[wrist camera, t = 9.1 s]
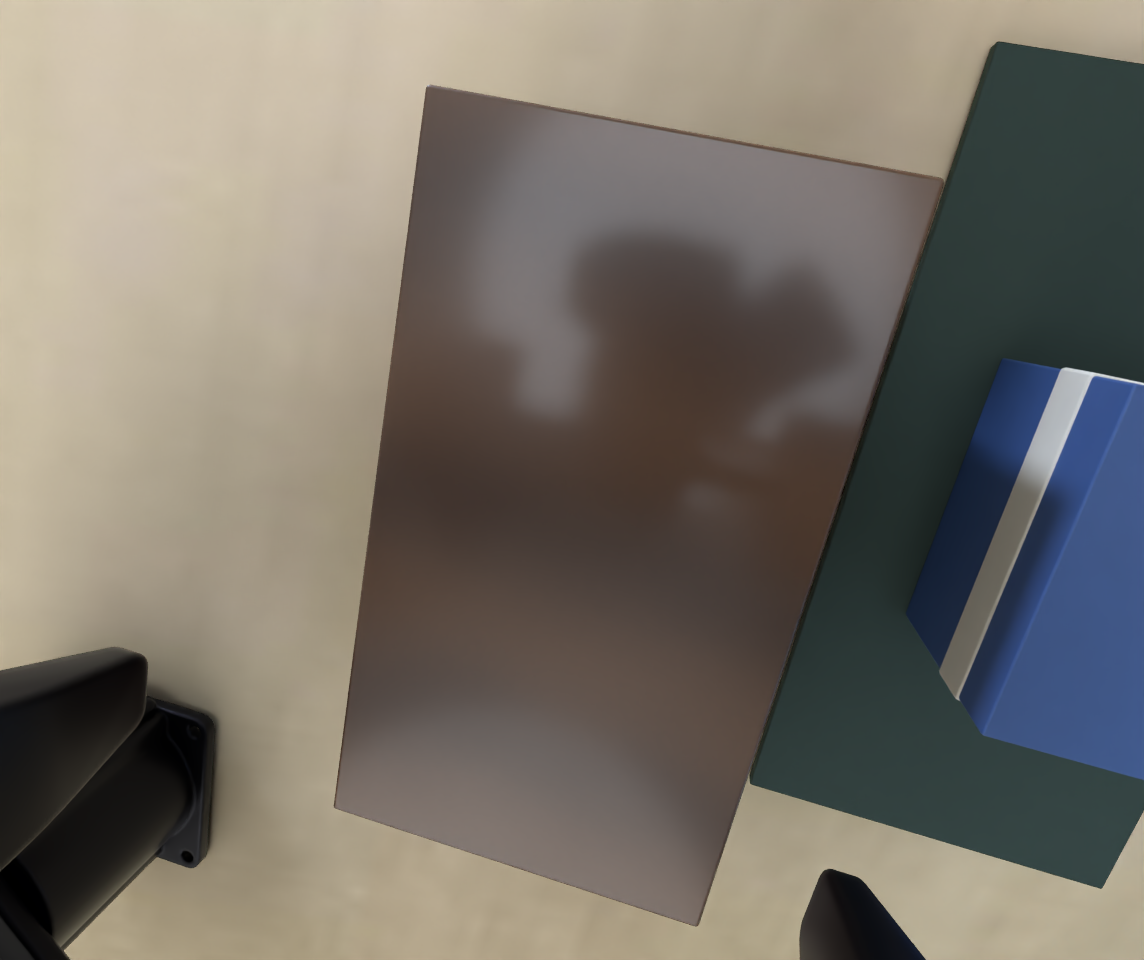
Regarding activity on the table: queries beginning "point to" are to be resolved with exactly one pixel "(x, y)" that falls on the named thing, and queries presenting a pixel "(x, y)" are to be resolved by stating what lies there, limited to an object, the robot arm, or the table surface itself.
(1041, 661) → the box
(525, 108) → the shelf
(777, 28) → the table surface
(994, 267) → the mat
